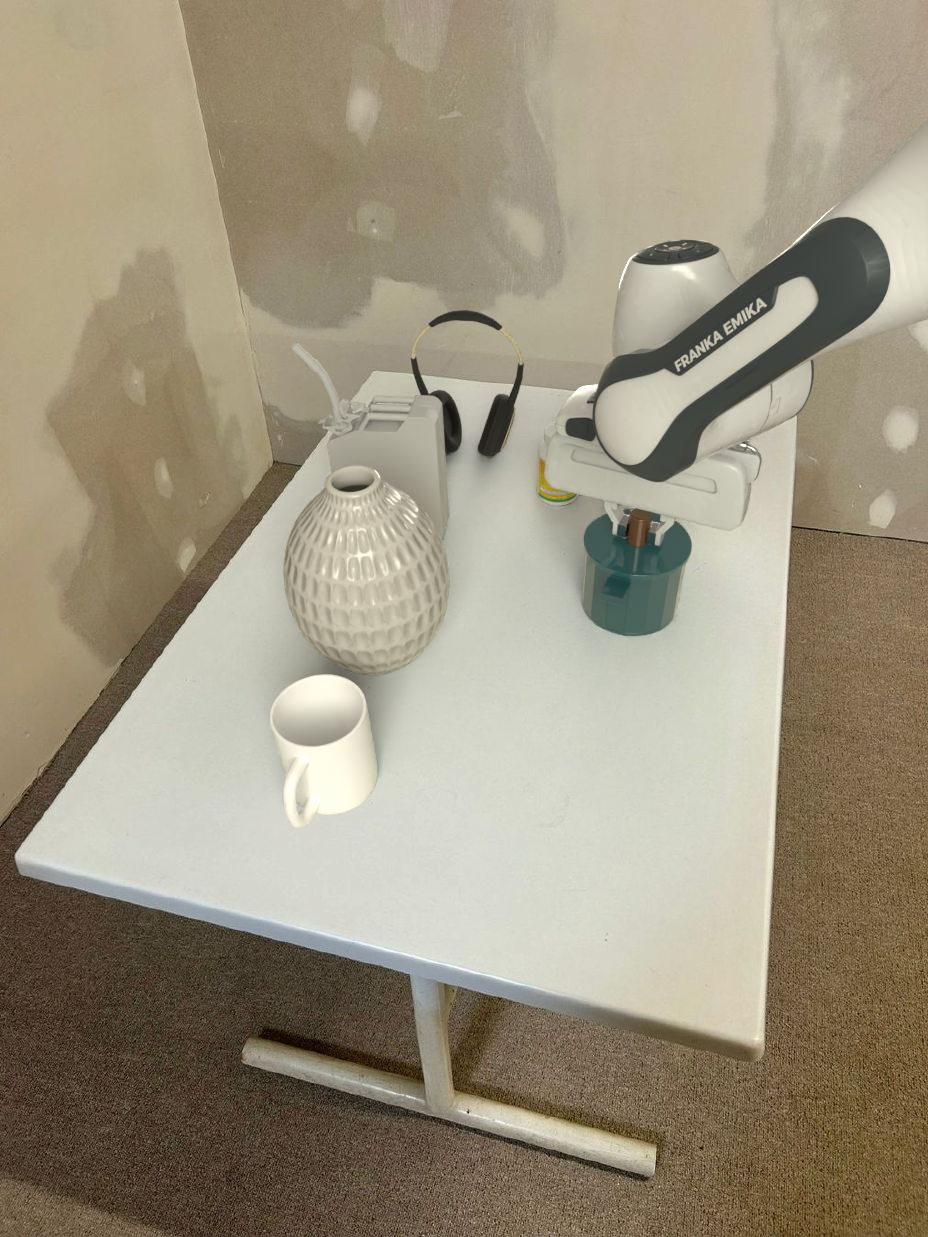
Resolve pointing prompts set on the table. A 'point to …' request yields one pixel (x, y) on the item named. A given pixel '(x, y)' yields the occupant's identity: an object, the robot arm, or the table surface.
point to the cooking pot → (630, 601)
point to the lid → (636, 547)
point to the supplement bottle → (543, 488)
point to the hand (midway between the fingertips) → (637, 537)
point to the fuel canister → (391, 442)
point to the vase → (366, 573)
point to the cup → (323, 746)
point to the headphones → (501, 406)
